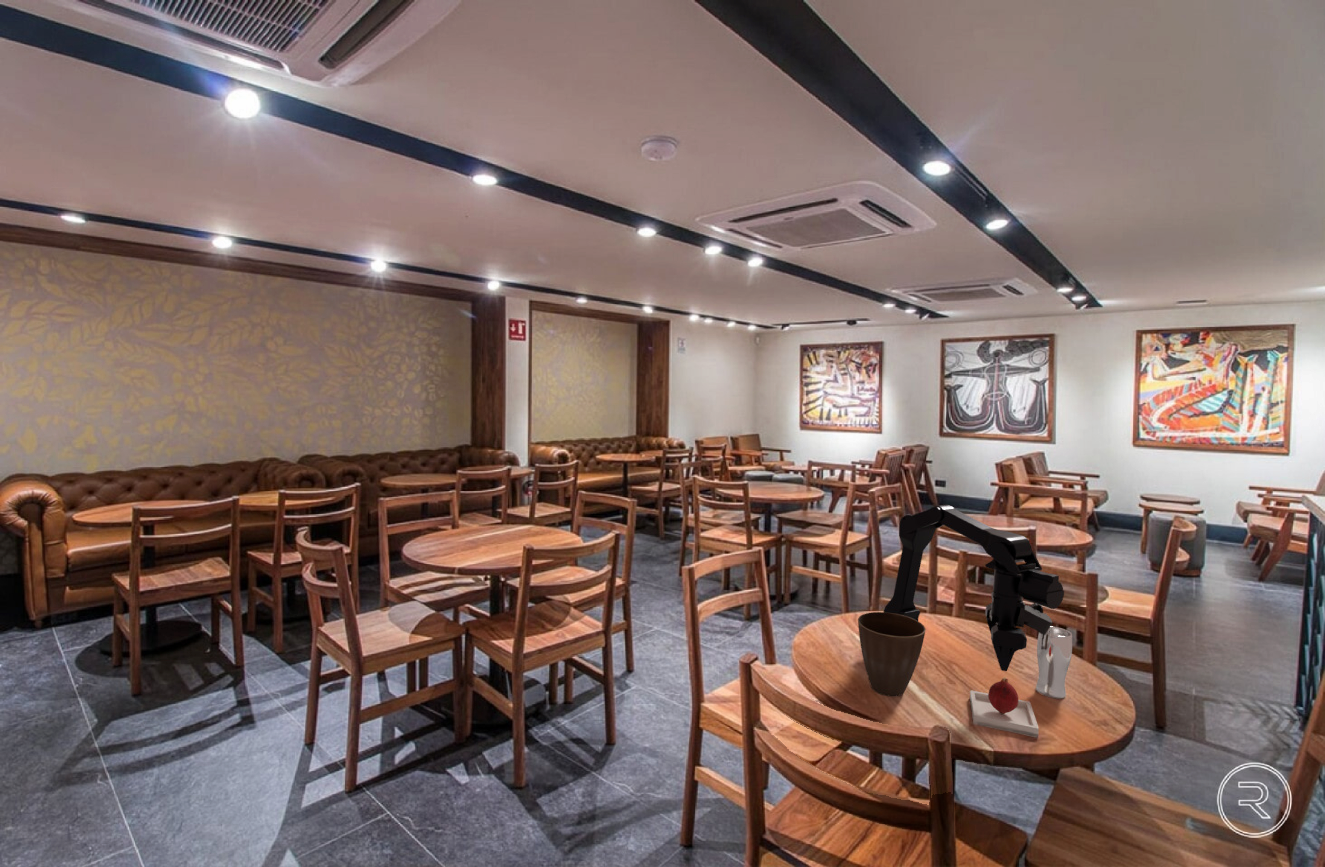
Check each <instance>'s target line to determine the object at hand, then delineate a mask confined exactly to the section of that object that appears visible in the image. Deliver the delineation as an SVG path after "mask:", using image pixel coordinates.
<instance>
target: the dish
mask: <svg viewBox="0 0 1325 867" xmlns="http://www.w3.org/2000/svg"><path fill="white" fill-rule="evenodd" d="M988 694H989V693H987V692H981V691H976V690H972V689H971V690H970V691H969V703H970V710H971V718H972V724H973V725H975V726H981V727H985V728H990V729H995V730H999V731H1005V732H1008V733H1013V734H1018V735H1024V736H1028V737H1032V738H1036V739H1037V738H1038V739H1039V734H1040V733H1039V730H1040V727H1039V726H1038V722H1037V718H1036V716H1035V712H1034V709H1033V707H1032V703H1031V702H1030V701H1027V700H1022V699H1018V705H1017V707H1016V708H1015V709H1014V710H1012V711H1011V712H1008V713H1005V714H1002V713H1000V712H999V711H997V710H996V709H995V708H994V707H993V706H992V705H991V703H990V701H989V698H988Z"/></svg>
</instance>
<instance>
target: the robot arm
mask: <svg viewBox="0 0 1325 867" xmlns="http://www.w3.org/2000/svg"><path fill="white" fill-rule="evenodd" d="M943 526H945V527H947V528H948V529H950V530H952V531H953V532H954V531H955V532H956V533H958V534H959V535H962V536H963V537H965V538H967V539H969V540H971V541H972V542H974V543H976V544H978V545H980V546H981V547H982V548H983V550H984V552H985V553H986V554H987V555H988V556H990V557H991V558H992V560H991V561H989V562H987V563H985V565H984V566H985V568H988V569H991V570H993V571H994V573H993V582H992V583H993V585H992V591H991V594H990V596H991V602H990V603H989V604H987V605H986V606H985V612H984V613H985V619H986V622H987V626H988V630H989V632H990V640H991V644H992V648H993V649H994V653H995V656H996V658H997V662H998V666H999V667H1000V670H1001V671H1003V672H1008V670H1009V667H1010V664H1011V662H1012V660H1013V658H1014V655H1015V653H1017V651H1020V650H1024V649H1027V644H1028V639H1027V636H1026V632H1024V630H1022V628H1024V627H1025V626H1026V627H1029V628H1031V629H1033V630H1034V631H1037V632H1038V634H1039V633H1041V634H1043V635H1046V633H1047V631H1048V629H1049V628H1050V626H1052V624H1053V621H1052V618H1051V617H1050V616H1049V615H1048V613H1046V612H1044V608H1043V607H1045V608H1047V609H1052V610H1056V609H1057V608H1059V607H1060V605H1061V604H1062V602H1063V600H1064V598H1065V597H1064V595H1065V590H1064V586H1063V585H1062V583H1061V582H1060V581H1059V580H1060V576H1059V575H1057V574H1054V573H1047V572H1044V571H1043V568H1042V566H1041V563H1040V562H1039V560H1038V558H1037V556H1036V554H1035V553H1034V550H1032V549H1033V548H1032V545H1031V543H1030V541H1031V540H1029V539H1028V538H1027V537H1025V536H1024V535H1021V534H1019V533H1015V532H1011V531H1006V530H1000V529H997V528H994V527H991V526H989V525H987V524H986V523H983V522H981V521H980V520H977V519H975V518H973V517H971V516H969V515H968V514H965V513H964V512H961V511H960V510H957V509H956V508H955V507H953V506H952V505H949V504H942V505H935V506H933V507H931V508H929V509H926V510H924V511H920V512H918V513H916V514H914V513H913V514H905V515H904V516H902V517H900V520H899V527H898V537H899V539H900V542H901V544H902V547H901V548H902V550H901V554H900V558H899V564H898V569H897V570H898V571H897V575H896V579H895V585H894V590H893V596H892V597H891V599H890V600H889V601H888V602H887V603H886V605H885V606H884V609H883V611H882V612H887V613H894V614H899V615H903V616H907V617H910V618H912V619H915V620H917V621H919V617H920V615H921V610H920V609H918V608H917V607H916V605H915V602H914V598H915V595H916V589H917V584H918V580H919V574H920V570H921V563H922V560H923V555H924V550H925V549H926V548H927V547H928V545H929V544H930V542H931V541H932V540H933V538H934V535H935V532H936V530H937V529H939V528H941V527H943ZM1022 562H1024V563H1022ZM1017 563H1020V564H1017ZM1024 600H1025V601H1028V602H1031V603H1032V604H1030V605H1029V604H1027V605H1026V603H1025V602H1024Z"/></svg>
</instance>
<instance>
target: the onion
mask: <svg viewBox="0 0 1325 867" xmlns="http://www.w3.org/2000/svg"><path fill="white" fill-rule="evenodd" d="M987 694H988V698H989V701H990V703H991V705H992V706H993V707H994V708H995V709H996V710H997V711H999V712H1000V713H1002V714H1005V713H1008V712H1011V711H1012V710H1014V709H1015V708H1016V707H1017V705H1018V700H1019V694H1018V692H1017V690H1016V688H1015V687H1014V686H1013V685H1012V684H1011V683H1009V679H1008V678H1007V677H1002V678H1001V680H1000V681H997V682H995V683H993V684H992V685H991V686H990V688H989V690H988V693H987Z"/></svg>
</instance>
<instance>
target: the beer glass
mask: <svg viewBox="0 0 1325 867" xmlns="http://www.w3.org/2000/svg"><path fill="white" fill-rule="evenodd" d="M1072 653H1073V633H1072V632H1071V631H1069V630H1067V629H1064V628H1061V627H1057V626H1052V625H1051V626H1050V628H1049V629H1048V631H1047V633H1046V635H1043V634H1041V633H1039V632H1038V636H1037V642H1036V657H1037V665H1038V678H1037V681H1036V685H1035V691H1036V692H1038V693H1039V694H1040V695H1042V696H1045V697H1048V698H1051V699H1058V700H1059V699H1064V698H1066V696H1067V692H1066V677H1067V672H1068V671H1069V667H1070V664H1071V660H1072V656H1073V655H1072Z"/></svg>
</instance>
